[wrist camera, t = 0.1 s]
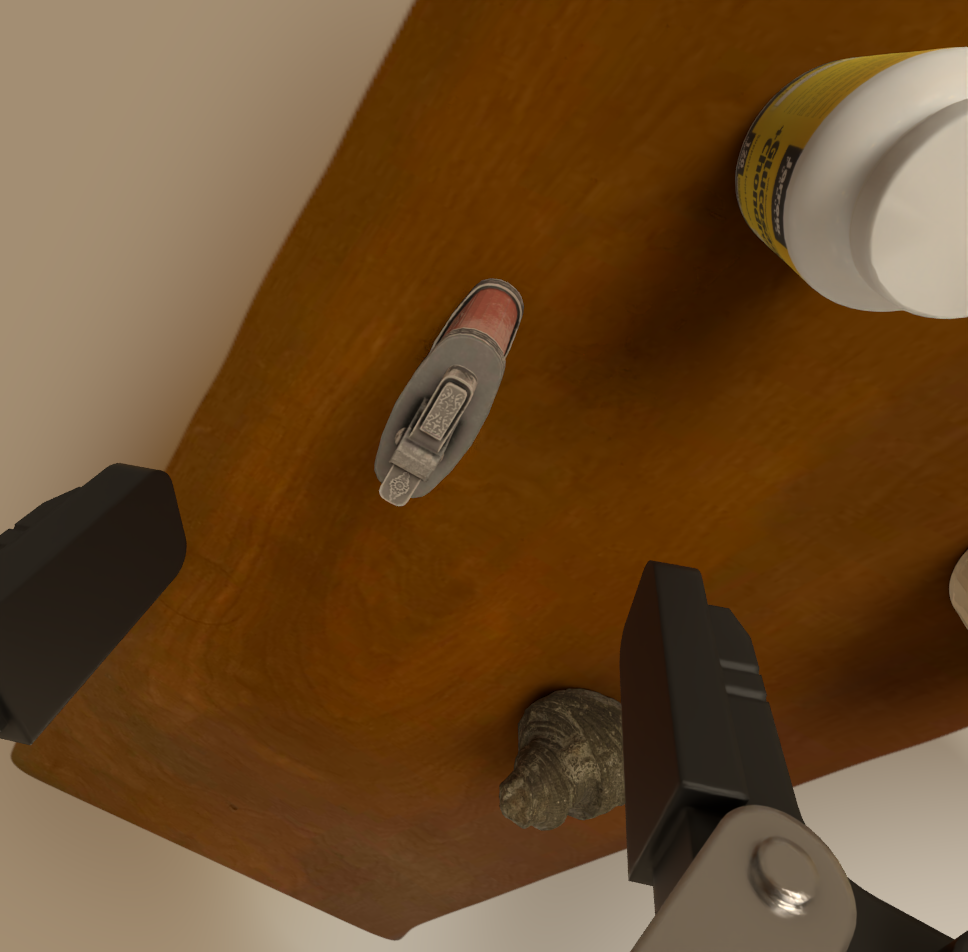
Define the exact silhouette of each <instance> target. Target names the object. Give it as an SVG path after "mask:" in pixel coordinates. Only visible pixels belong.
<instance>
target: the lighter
mask: <svg viewBox="0 0 968 952" xmlns="http://www.w3.org/2000/svg"><path fill="white" fill-rule="evenodd" d="M523 309H524V305H523V301H522V297H521V296H520V294H519V293H518V291H517V290H516V289H515V288H514V287H513V286H512V285H511V284H509V283H507V282H505V281H503V280H500V279H487V280H483V281H481V282H480V283H478V284H477V285H476V286H475V287H474V288H473V289H472V290H471V292H470V293H469V294H468V295H467V296H466V298H465V299H464V300H463V301H462V302H461V303H460V305H459V306H458V307H457V308H456V309H455V311H454V312H453V314H452V315H451V317H450V319H449V320H448V322H447V323H446V325H445V326H444V328H443V329H442V331H441V333H440V334H439V336H438V337H437V339H436V340H435V342H434V344H433V346H432V349H431V351H430V353H429V355H428V356H427V357H426V358H425V359H424V360H423V362H422V363H421V364H420V365H419V367H418V369H417V370H416V372H415V373H414V375H413V376H412V378H411V379H410V381H409V383H408V384H407V386H406V387H405V389H404V390H403V392H402V393H401V395H400V397H399V398H398V400H397V401H396V403H395V405H394V408H393V410H392V412H391V415H390V417H389V419H388V422H387V424H386V426H385V429H384V431H383V433H382V437H381V441H380V445H379V448H378V452H377V456H376V460H375V473H376V475H377V478H378V479H379V481H380V482H381V483H382V485H381V487H380V490H379V493H380V495H381V497H382V498H383V499H385V500H386V501H388V502H389V503H391V504H394V505H396V506H403V505H405V504H406V503H407V502H408V500H409V499H410V498H416V497H422V496H424V495H426V494H427V493H429V492H430V491H431V490H432V489H433V488H434V487H435V486H436V485H437V484H438V483H439V482H440V481H441V480H442V479H443V478H444V477H445V476H446V475H448V474H449V473H450V472H451V470H452V469H453V468H454V467H455V465H456V464H457V463H458V461H459V460H460V459H461V458H462V456H463V455H464V454H465V453H466V451H467V450H468V449H469V447H470V446H471V445H472V443H473V441H474V439H475V437H476V436H477V434H478V432H479V430H480V428H481V426H482V425H483V423H484V421H485V419H486V417H487V415H488V414H489V411H490V408H491V406H492V403H493V401H494V398H495V395H496V393H497V390H498V387H499V385H500V382H501V380H502V377H503V374H504V370H505V362H506V361H505V358H506V356H507V354H508V352H509V350H510V348H511V345H512V343H513V340H514V337H515V335H516V332H517V329H518V327H519V324H520V321H521V318H522V315H523Z"/></svg>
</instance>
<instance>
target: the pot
mask: <svg viewBox="0 0 968 952" xmlns="http://www.w3.org/2000/svg"><path fill="white" fill-rule="evenodd" d="M949 594H950V600H951V602H952V604H953V607H954V608H955V610H956V611H957V613H958V614H959V616H960V618H961V620H962V621H963V623H964V625H965V626H966V628H967V629H968V550H967V551H966V552H965V553H964V554H963V556H962V557H961V558H960V560H959V561H958V563H957V564H956V566H955V568H954V570H953V573H952V575H951V579H950V583H949Z"/></svg>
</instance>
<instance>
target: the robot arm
mask: <svg viewBox="0 0 968 952" xmlns="http://www.w3.org/2000/svg"><path fill="white" fill-rule="evenodd" d="M186 547H187V546H186V538H185V533H184V529H183V525H182V521H181V517H180V513H179V509H178V505H177V500H176V496H175V492H174V488H173V484H172V481H171V479H170V477H169V475H168V474H167V473H165V472H164V471H161V470H155V469H149V468H144V467H138V466H133V465H127V464H121V463H116V464H113V465H110V466H109V467H107V468H106V469H104V470H103V471H102V472H101V473H99V474H98V475H97V476H95V477H94V478H93V479H91V480H90V481H89V482H88V483H86V484H85V485H84V486H82V487H78V488H75V489H73V490H71V491H69V492H67V493H64V494H62V495H60V496H58V497H55V498H53V499H51V500H49V501H46V502H44V503H42V504H41V505H40V506H38V507H37V508H36V509H34V510H33V511H32V512H30V513H29V514H28V515H26V516H25V517H24V518H22V519H21V520H20V521H18V522H17V523H16V524H15V527H14V529H8V530H7V531H5V532H4V533H2V534H1V535H0V738H1V739H5V740H10V741H14V742H19V743H23V744H28V745H31V744H32V743H33V742H34V741H35V740H36V739H37V737H38V736H39V735H40V734H41V733H42V732H43V730H44V729H45V728H46V727H47V726H48V725H49V724H50V722H51V721H52V720H53V719H54V718H55V717H56V715H57V714H58V713H59V712H60V711H61V710H62V708H63V707H64V706H65V705H66V704H67V703H68V701H69V700H70V699H71V698H72V697H73V696H74V694H75V693H76V692H77V691H78V690H79V689H80V687H81V686H82V685H83V684H84V683H85V682H86V681H87V679H88V678H89V677H90V676H91V675H92V674H93V672H94V671H95V670H96V669H97V668H98V667H99V665H100V664H101V663H102V662H103V661H104V660H105V658H106V657H107V656H108V655H109V654H110V653H111V651H112V650H113V649H114V648H115V647H116V646H117V644H118V643H119V642H120V641H121V640H122V639H123V638H124V636H125V635H126V634H127V633H128V632H129V631H130V629H131V628H132V627H133V626H134V625H135V624H136V622H137V621H138V620H139V619H140V618H141V617H142V615H143V614H144V613H145V612H146V611H147V610H148V608H149V607H150V606H151V605H152V604H153V603H154V601H155V600H156V599H157V598H158V597H159V596H160V595H161V593H162V592H163V591H164V590H165V589H166V588H167V586H168V585H169V584H170V583H171V582H172V581H173V579H174V578H175V577H176V576H177V574H178V573H179V571H180V569H181V567H182V565H183V562H184V559H185V555H186ZM620 686H621V711H622V735H623V760H624V784H625V808H626V833H627V855H628V856H627V857H628V879H629V881H632V882H637V883H641V884H646V885H650V886H653V890H654V904H655V917H654V918H653V920H652V921H651V922H650V924H649V925H648V927H647V928H646V930H645V931H644V933H643V934H642V935H641V937H640V939H639V940H638V941H637V943H636V944H635V946H634V947H633V949H632V950H631V951H630V952H968V931H966V932H965V933H963V934H962V935H960V936H959V937H958V938H956V939H955V940H954V939H952V938H951V937H949V936H947V935H945V934H943V933H941V932H939V931H938V930H936V929H934V928H932V927H930V926H928V925H927V924H925V923H923V922H921V921H919V920H917V919H916V918H914V917H912V916H910V915H908V914H906V913H904V912H903V911H901V910H899V909H897V908H895V907H893V906H892V905H889V904H888V903H886V902H884V901H882V900H880V899H878V898H877V897H875V896H873V895H872V894H870V893H868V892H867V891H865V890H864V889H862V888H861V887H859V886H858V885H857V884H856V883H854V882H853V881H852V880H850V879H849V878H848V877H847V875H846V873H845V871H844V870H843V868H842V866H841V864H840V863H839V861H838V859H837V858H836V857H835V855H834V854H833V853H832V851H831V850H830V849H829V847H828V846H827V845H826V844H825V843H824V842H823V841H822V840H821V839H820V838H819V837H818V836H817V835H816V834H815V833H814V832H813V831H812V830H811V829H810V828H808V827H807V826H806V825H805V823H804V821H803V819H802V816H801V814H800V811H799V808H798V805H797V801H796V798H795V794H794V790H793V787H792V783H791V780H790V776H789V773H788V769H787V766H786V762H785V758H784V755H783V751H782V748H781V744H780V741H779V737H778V734H777V730H776V726H775V723H774V719H773V716H772V712H771V709H770V705H769V702H766V696H767V694H766V691H765V687H764V684H763V680H762V677H761V675H759V666H758V662H757V659H756V655H755V652H754V648H753V645H752V641H751V638H750V636H749V635H748V634H747V632H746V631H745V629H744V628H743V627H742V625H741V624H740V623H739V621H738V620H737V619H736V617H735V616H734V615H733V613H732V612H731V610H730V609H729V608H723V607H718V606H713V605H708V604H707V599H706V594H705V590H704V585H703V580H702V576H701V573H700V571H699V570H698V569H696V568H690V567H685V566H679V565H674V564H668V563H662V562H657V561H651V560H650V561H648V563H647V564H646V566H645V568H644V571H643V574H642V577H641V580H640V583H639V585H638V588H637V591H636V594H635V597H634V600H633V603H632V606H631V609H630V612H629V614H628V617H627V620H626V623H625V626H624V630H623V635H622V640H621V648H620Z"/></svg>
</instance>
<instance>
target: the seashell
mask: <svg viewBox="0 0 968 952" xmlns="http://www.w3.org/2000/svg"><path fill="white" fill-rule="evenodd" d="M518 739H519V743H518V747H519V752H518V755H517V757H516V759H515V764H514V771H513V772H512V773H511V774H510V775H509V776H508V777H507V778H506V779H505V780H504V781H503V782H502V783H501V784H500V786H499V787H500V793H499V799H500V809H501V811H502V814H503V815H504V816H505V817H506V818H508V819H510V820H512V821H513V822H514V823H516V824H517V825H518V826H519V827H521V828H523V829H524V828H527V827H529V826H531V825H532V826H534V827H535V828H537V829H539V830H552V829H554V828H557V827H558V826H560V825H561V824H562V823H563V822H564V821H565V819H566V817H567V815H569V816H571V817H574V818H577V819H579V820H586V819H591V818H595V817H596V816H598V815H601V814H605V813H607V812H609V811H610V810H612V809H613V808H614V807H615V806H622V805H624V804H625V784H624V760H623V735H622V711H621V704H620V703H619V702H618V701H616V700H615V699H613V698H608V697H606V696H603V695H601V694H600V693H597V692H594V691H590V690H585V689H580V688H579V689H571V688H568V689H567V690H558V691H554V692H553V693H551V694H550V695H548V696H546V697H543V698H541V699H538V700H537V701H536V702H535V703H533V704H531V705H530V706H529V707H528V708H527V709H525V714H524V715H523V717H522V718H521V720H520V722H519V723H518Z"/></svg>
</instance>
